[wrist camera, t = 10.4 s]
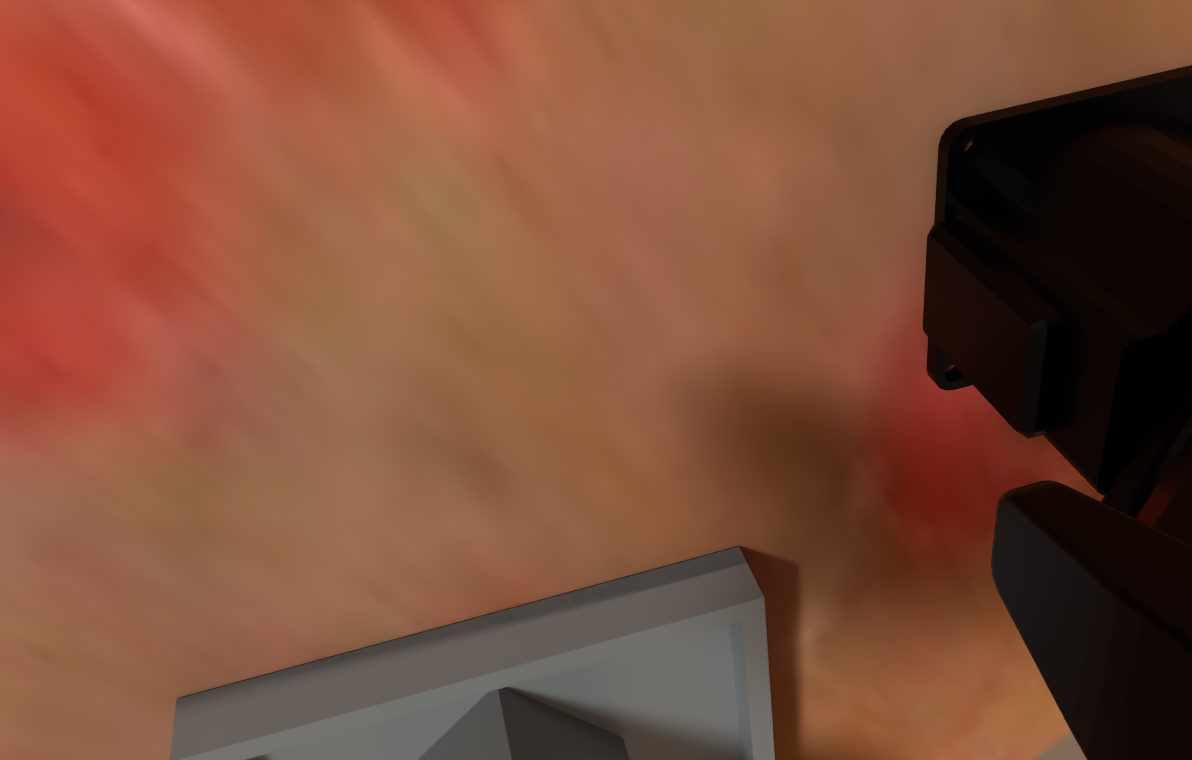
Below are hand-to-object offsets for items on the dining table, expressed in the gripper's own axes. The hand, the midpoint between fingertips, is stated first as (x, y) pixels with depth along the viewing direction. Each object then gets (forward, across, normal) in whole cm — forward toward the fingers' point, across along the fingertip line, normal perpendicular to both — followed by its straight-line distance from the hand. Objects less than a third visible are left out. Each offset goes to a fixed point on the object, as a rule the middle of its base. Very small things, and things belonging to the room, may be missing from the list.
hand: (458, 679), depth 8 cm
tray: (+13, +1, +18) cm, 22 cm away
